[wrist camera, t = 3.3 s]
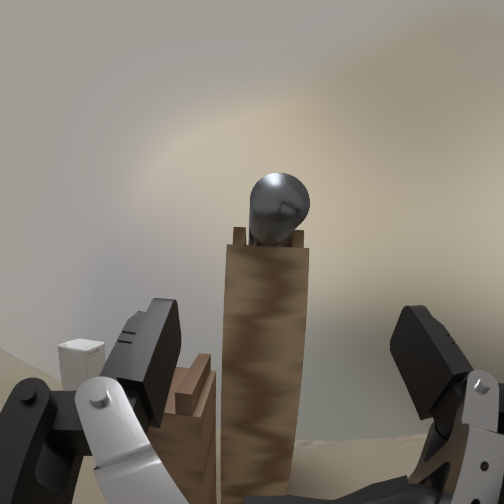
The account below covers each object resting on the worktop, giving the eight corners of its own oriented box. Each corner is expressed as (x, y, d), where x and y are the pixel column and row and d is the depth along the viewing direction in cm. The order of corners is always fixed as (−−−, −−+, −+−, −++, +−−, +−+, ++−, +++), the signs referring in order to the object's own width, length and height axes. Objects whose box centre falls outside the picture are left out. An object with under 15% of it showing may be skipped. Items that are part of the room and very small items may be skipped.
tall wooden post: (217, 520, 22) (216, 354, 24) (210, 573, 13) (200, 395, 15) (158, 512, 22) (139, 346, 24) (140, 560, 13) (92, 376, 15)
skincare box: (95, 431, 37) (85, 351, 39) (66, 422, 37) (55, 344, 38) (112, 413, 46) (106, 341, 47) (85, 406, 45) (78, 336, 47)
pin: (273, 257, 39) (274, 232, 39) (309, 232, 16) (309, 175, 16) (247, 256, 39) (249, 231, 39) (248, 229, 16) (251, 171, 16)
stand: (272, 459, 37) (286, 247, 40) (281, 521, 22) (309, 230, 25) (227, 458, 37) (235, 245, 40) (221, 520, 22) (227, 226, 25)
